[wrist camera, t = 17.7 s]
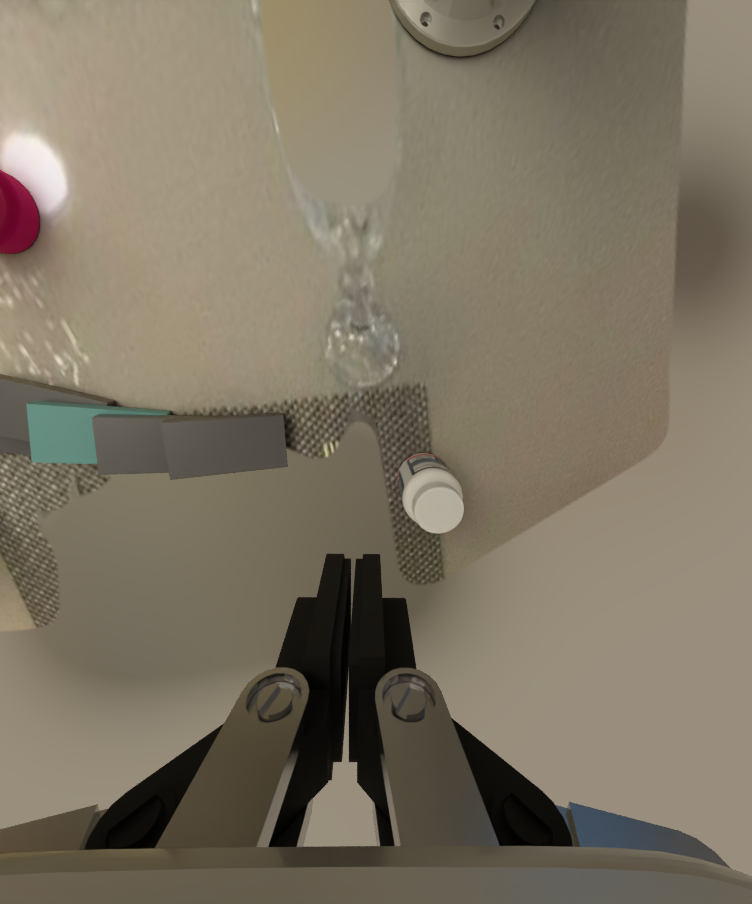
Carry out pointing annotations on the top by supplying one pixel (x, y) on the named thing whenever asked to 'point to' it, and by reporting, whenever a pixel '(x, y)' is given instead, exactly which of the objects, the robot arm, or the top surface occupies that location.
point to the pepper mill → (16, 216)
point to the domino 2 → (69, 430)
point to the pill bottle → (430, 493)
